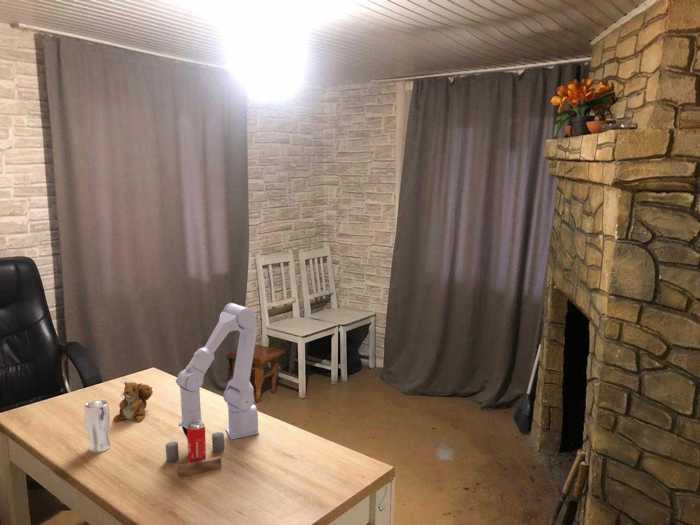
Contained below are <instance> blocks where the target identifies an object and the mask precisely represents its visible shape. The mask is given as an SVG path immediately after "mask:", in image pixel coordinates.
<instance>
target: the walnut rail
mask: <svg viewBox="0 0 700 525" xmlns="http://www.w3.org/2000/svg"><path fill="white" fill-rule="evenodd" d="M177 468H178V476H179V477H180V478H182V477H185V476H190V475H191V476H192V475H195V474H199V473H204V472H208V471H212V470H217V469H220V468H222V458H221V456H220V455H218V456H217V455H216V456H214V457H213V456H212V457H209V458H206V459H203V460H199V461H195V462H190V463H189V462H187V463H182V464H178V467H177Z"/></svg>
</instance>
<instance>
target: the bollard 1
mask: <svg viewBox="0 0 700 525" xmlns="http://www.w3.org/2000/svg"><path fill="white" fill-rule="evenodd" d="M165 456H166V457H165V458H166V460H165V461H166V462H167V463H170V464H172V463H176V462H178V461H179V459H180V455H179V443H178V442H177V441H169V442H167V443H166V444H165Z"/></svg>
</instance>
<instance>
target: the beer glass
mask: <svg viewBox="0 0 700 525" xmlns="http://www.w3.org/2000/svg"><path fill="white" fill-rule="evenodd" d="M84 422H85V426H86V429H87V434H88V436H89V452H91V453H94V454H98V453H103V452H105V451H108V450H109V449H110V448H111V443H110V439H109V428H110V410H109V404H108V401H107V400H106V399H95V400H91V401H88V402H87V403H85V405H84Z"/></svg>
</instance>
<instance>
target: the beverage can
mask: <svg viewBox="0 0 700 525" xmlns="http://www.w3.org/2000/svg"><path fill="white" fill-rule="evenodd" d="M187 438H188V441H187V461H188V463H190V462H195V461H199V460H203V459H207V452H206V451H207V449H206V447H207V446H206V442H207V441H206V426H205V423H203V422H202V423H201V422H194V423H191V424H189V425H188V428H187V437H186V439H187Z"/></svg>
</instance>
